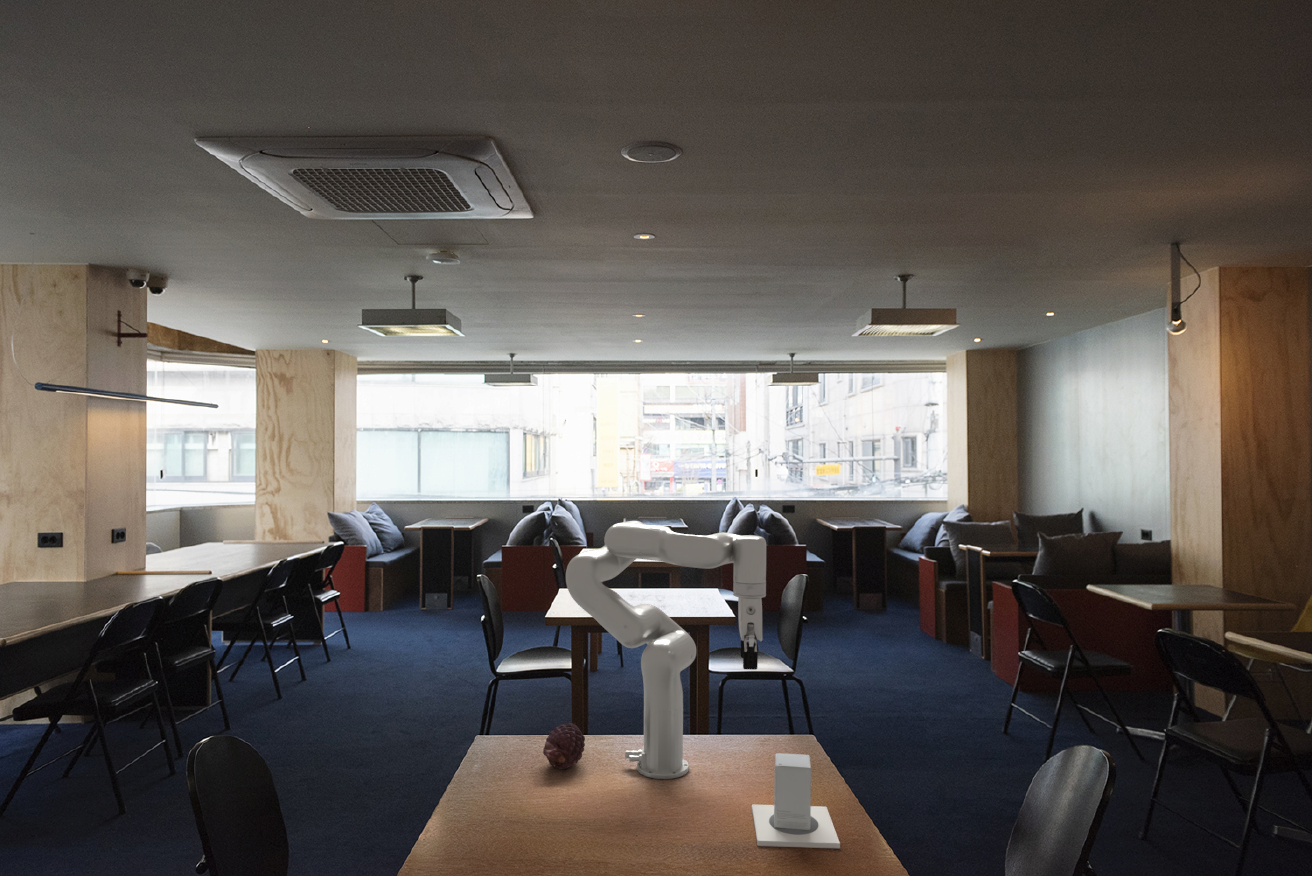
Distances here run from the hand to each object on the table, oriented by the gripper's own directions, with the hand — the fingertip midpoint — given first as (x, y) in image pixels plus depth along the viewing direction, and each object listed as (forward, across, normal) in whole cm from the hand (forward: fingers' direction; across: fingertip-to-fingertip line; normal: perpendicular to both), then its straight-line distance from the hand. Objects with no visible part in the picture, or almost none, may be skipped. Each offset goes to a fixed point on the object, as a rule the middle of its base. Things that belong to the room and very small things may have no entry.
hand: (748, 663), depth 184 cm
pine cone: (+29, +9, +44) cm, 53 cm away
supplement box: (+27, -20, -8) cm, 34 cm away
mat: (+28, -20, -8) cm, 35 cm away
